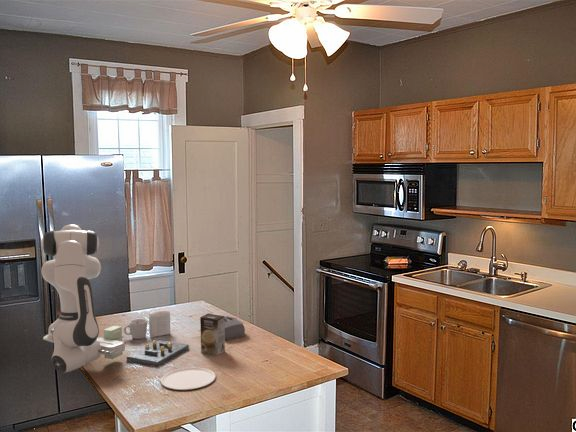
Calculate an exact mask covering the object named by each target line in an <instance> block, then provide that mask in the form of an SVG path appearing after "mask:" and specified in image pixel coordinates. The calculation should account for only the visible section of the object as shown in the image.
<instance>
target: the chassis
mask: <svg viewBox="0 0 576 432" xmlns="http://www.w3.org/2000/svg"><path fill="white" fill-rule="evenodd" d="M189 345H190V344H186V343H181V342H175V341H174V342H173V341H167V340H162V339H159V340H157V339H154V340H152V343H151V344H149V343H145V344H144V346H145V347H143V348H141V349H139V350H137V351H135V352H133V353H131V354H129V355H127V356H126V362H130V363H136V364H142V365H146V366H153V367H157V368H158V367H160V366H161V365H164V364H165V363H167V362H169V361H170V360H172V359H174V358H176V357H177V356H179V355H181V354H182V353H185V352H187V351H189V349H190V346H189Z"/></svg>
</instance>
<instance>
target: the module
mask: <svg viewBox="0 0 576 432" xmlns="http://www.w3.org/2000/svg"><path fill="white" fill-rule="evenodd" d="M122 327H123V326H120V325H112V326H109V327H107V328H104V329H103V337H104V338H105V339H111V340H115V339H116V338H121V341H122V342H123V336H122V335H123V333H122V332H123V331H122V329H123V328H122ZM123 352H124V351H123ZM123 352H121V353H118V354H115V355H105V354H104V358H105V359H108V360H109V359H111V360H114V359H116V358H118V357H120V356H123V354H124V353H123Z"/></svg>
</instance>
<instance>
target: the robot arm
mask: <svg viewBox="0 0 576 432" xmlns="http://www.w3.org/2000/svg"><path fill="white" fill-rule="evenodd" d="M40 245H41V249H42V252H43V253H44V254H45V255H46V256H49V257H51V258H52V257H55V258H54V259H51V260H47V261H45V262H44V263H43V264H42V266H41V271H40V272H41V276H42V279H44V281H46V282H47V283H48V284H50V285H52V287H54V288H55V290H56V291H57V292H58V295H59V300H60V310H59V311H57V315H58V318H57V319H56V320H55V321H54V322H53V323H51V324H50V325H49V327H48V330H47V331H48V334H45V336H43V338H42V340H44V341H45V342H50V343H53V354H52V356H51V358H50V359H51V365H52V367H53V369H54V370H56V371H58V372H59V373H63V374H64V373H69V372H72V371H75V370H78V369H80V368H81V367H83V366H84V365H87V364H90V363H92V362H94V361H96V360H98V359H99V358H100V357H101V356H102V355H104V356H105V355H115V354H118V353H121V352H124V351H125V350H126V344H125V341H123V340H122V341H121V338H116V339H115V340H111V339H105V338H104V336H103V337H99V333H100V328H99V324H98V321H97V317H96V310H95V302H94V296H93V289H92V285H91V282H90V280H92V279H94V278H95V279H96V278H97V277H98V276H99V275H100V273H101V270H102V264H101V262H100V261H99V259H98V258H97V257H95V256H93V255H95V254H96V253H97V251H98V249H99V246H100V239H99V236H98V234H97V233H96V232H95V231H93V230H88V229H87V230H83V229H82V228H81V227H80V226H79V225H77V224H72V223H71V224H66V225H64V226H63V227H62V228H61V229H60V230H49V231H46V232H45V233H44V234H43V236H42V239H41V242H40Z"/></svg>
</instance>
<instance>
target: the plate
mask: <svg viewBox="0 0 576 432" xmlns="http://www.w3.org/2000/svg"><path fill="white" fill-rule="evenodd" d="M216 376H217V375H216V373H215V372H214V371H213V370H210V369H208V368H205V367H192V366H191V367H182V368H177V369H175V370H172V371H169V372H167V373H166V374H164V375H163V376H162V377H161V378H160V385H162V386H163V387H164V388H166V389H169V390H175V391H193V390H200V389H202V388H204V387H207V386H209V385H211V384H212V383H214V381H216V378H217V377H216Z"/></svg>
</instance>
